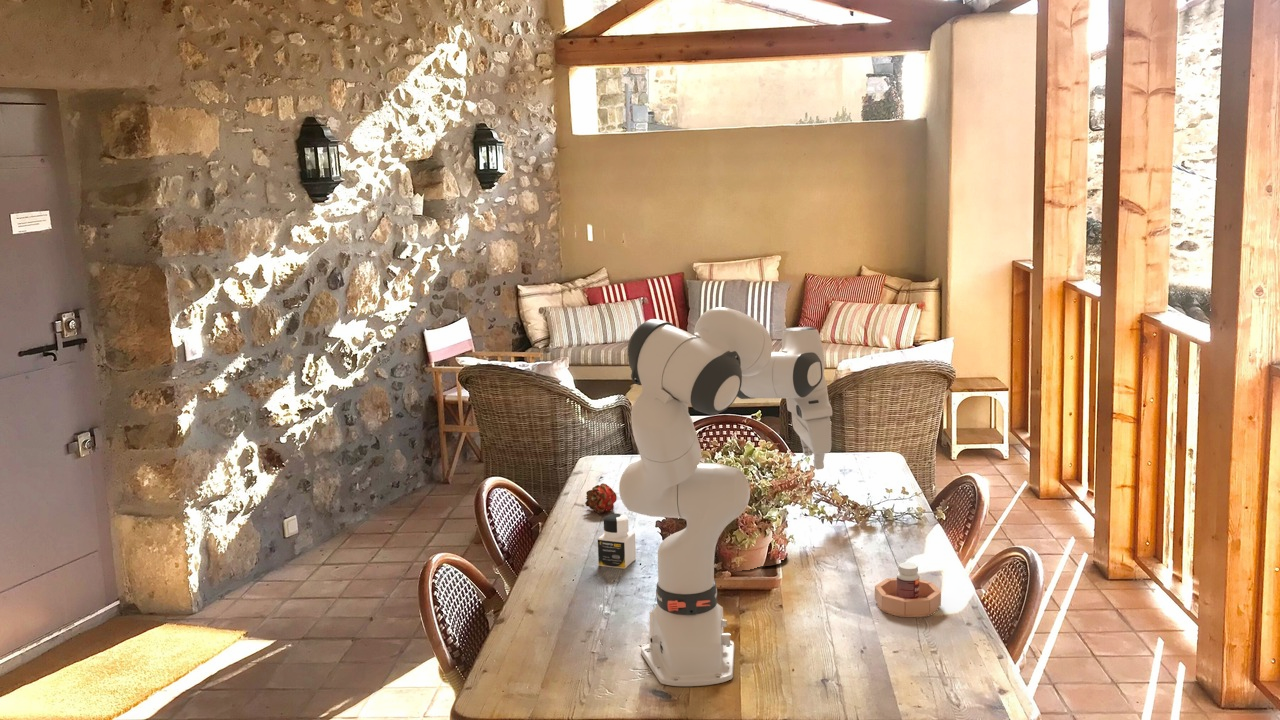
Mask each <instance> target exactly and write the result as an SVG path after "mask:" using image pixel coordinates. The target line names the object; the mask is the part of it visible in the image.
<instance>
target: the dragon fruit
mask: <svg viewBox="0 0 1280 720" xmlns="http://www.w3.org/2000/svg"><path fill="white" fill-rule="evenodd" d="M611 487H612V486H611ZM611 487H610V486H609V485H608V484H607V483H604V482H603V483H600V485H599V484H597V485H595V486H593V487H592V489H590V490H587V491H586V494H585V495H586V496H585V497H586V498H585V499H586V500H585V501H586V502H584V504H585V506H586V507H588V508H589V509H590V510H593V511H594V512H595V513H597V514H601V515H602V514H604V513H605V511H607V512H609V511H613V510H614V509H615V506H614V504H615V503H616V502H617V499H618V496H617V494H616V492H615V491H614V490H613V488H611Z"/></svg>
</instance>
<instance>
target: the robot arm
mask: <svg viewBox="0 0 1280 720" xmlns="http://www.w3.org/2000/svg"><path fill="white" fill-rule="evenodd" d="M693 331H694V332H693V333H690V332H689V331H686V330H684V329H681V328H680V327H677V326H675V324H673V323H671V322H669V321H666V320H662V319H657V318H650V319H648V320H646V321H644V322H643V323H641V324H640V325H639V326H638V327H637V328H636V329H635V330H634V331H633V332H632V335H631V337H630V338H629V341H628V343H627V362H628V365H629V368H630V370H631V374H630V378H631V380H632V382H633V383H634V384H636V385H637V386H641V387H642V390H641V393H640V394H639V396H638V397H636V399H635V401H634V402H633V405H632V407H631V411H630V416H631V429H632V435H633V439H634V441H635V444H636V447H637V450H638V453H639V457H640V460H638V461H635V462H633V463H630V464H629V465H628V466H627V467H626V468H625V470H624V471H623V473H622V474H621V477H620V480H619V483H618V484H619V486H618V492H619V496H620V500H621V503H622V504H623V506H624V507H625V508H626V509H627V511H629V512H632V513H636V514H639V515H644V516H647V517H654V518H656V517H657V518H671V519H683V520H685V521H686V527H685V528H683V529H681V530H679V531H676V532H674V533H672V534H670V535H669V536H666V537H665V538H664V539H663V540H662V541H661V543H660V544H659V547H658V550H657V577H658V579H657V583H656V589H655V595H656V605H655V606H654V608H653V609H651V611H650V612H649V643H647V644H645V645H643V646H641V648H640V654H641V656H642V658H644V660H645V662H646V663H647V664H648V665H647V666H649V668H650V670H651V671H652V672H653V674H654V675H655V677H656V679H657V680H658V682H659V683H660V684H662V685H667V686H673V687H699V686H702V687H703V686H710V685H711V686H712V685H717V684H721V683H725V682H727V681H729V680H732V679H733V677H734V663H735V643H734V640H731V633H729V632H724V628H727V626H728V619H724V608H723V606H721V605H720V604H719V603H718V588H717V583H716V581H715V558H716V557H715V555H716V548H717V544H718V541H719V538H720V537H721V534H722V533H723V531H724V530H725V529H726V528H727V526H728V525H730V524H731V522H734V520H736V519H738V518H739V517H740V516H741V515H742V514H743V513H744V511H745V510H746V509H747V507H748V505H749V503H750V502H749V501H750V498H751V488H750V487H751V486H750V483H749V481H748V478H747V476H746V475H745V473H744V472H743V470H741V469H740V468H738V467H734V466H730V465H726V464H722V463H716V462H715V463H714V462H701V460H702V459H701V458H702V448H701V444H700V442H699V438H698V435H697V430H696V428H695V425H694V422H693V420H692V418H691V415H690V413H689V406H690V407H692V409H694V410H695V411H698V412H700V413H703V414H706V415H709V416H715V415H718V414H720V413H723V412H724V411H727V409H728V408H730V407H731V406H732V404H734V402H735V400H736V399H737V398H739V399H740V400H748V399H750V400H752V399H785V400H786V409H787V411H788V412H790V413H791V423H792V428H793V430H794V431H795V433H796V434H797V436H799V438H800V443H801V446H802V453H803V454H804V456H806V457H809V456H812V455H813V467H814V468H815V469H816V470H817V471H819V470H823V469H824V467H825V464H824V462H825V461H824V459H825V454H829V453H830V452H831V449H832V443H833V442H832V423H831V418H830V417H832V416H833V408H832V405H831V402H830V399H829V394H828V384H827V380H826V378H825V374H824V373H825V368H826V363H825V354H824V348H823V343H822V339H821V335H820V333H819V330H818V329H817V328H815V327H812V326H798V327H797V326H795V327H793V326H792V327H787V328H785V329H783V330H782V333H781V351H773V340H772V337H771V335H770V333H769V331H768V329H767V328H766V327H765V326H764V325H763V324H762V323H761V322H759V321H758V320H756V318H753V317H752V316H750V315H748V314H746V313H745V312H743V311H739V310H737V309H733V308H730V307H724V306H719V307H718V306H717V307H712V308H710V309H708V310H706V311H705V312H703V314H701V315H700V317H698V320H697V321H696V323H695V327H694V330H693Z"/></svg>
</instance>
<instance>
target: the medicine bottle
mask: <svg viewBox="0 0 1280 720" xmlns="http://www.w3.org/2000/svg"><path fill="white" fill-rule="evenodd" d="M636 550H637V549H636V532H635V531H630V530H629V517H628V516H627V515H626V514H623V513H610V514H608V515H605V516H604V517H603V534H602V535H600V536H599V537H598V538H597V555H598V556H597V558H598V561H597V562H598V566H599V567H606V568H615V569H623V570H625V569H626V568H627V567H629V566H630V565H631V564H632V563H633V562H634V561H635V560H636V559H637V555H636V554H637V553H636Z"/></svg>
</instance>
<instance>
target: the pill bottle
mask: <svg viewBox="0 0 1280 720" xmlns="http://www.w3.org/2000/svg"><path fill="white" fill-rule="evenodd" d="M918 572H919V566H918V564H916V563H913V562H901V563H899V564H898V573H897V574H896V578H897V597H899V598H903V599H918V598H919V579H920V577H921V576H920V575H919V573H918Z"/></svg>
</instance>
